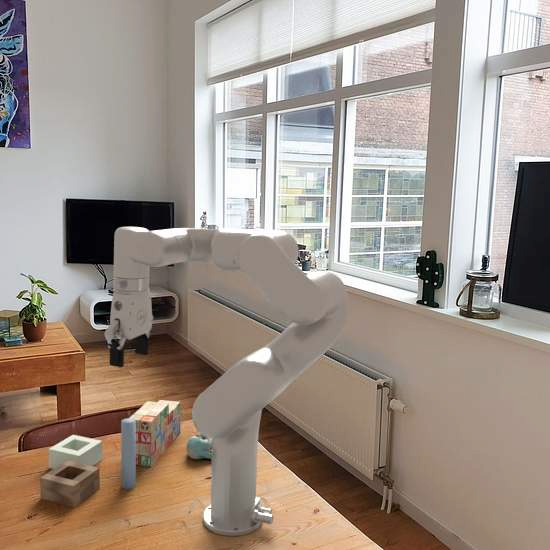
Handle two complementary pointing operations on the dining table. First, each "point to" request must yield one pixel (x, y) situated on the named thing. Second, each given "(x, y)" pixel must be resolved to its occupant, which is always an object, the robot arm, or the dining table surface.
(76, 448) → the white square hollow block
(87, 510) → the dining table surface
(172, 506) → the dining table surface
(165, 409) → the stack of blocks
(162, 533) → the dining table surface
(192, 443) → the teal cartoon creature figurine
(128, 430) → the light blue rod
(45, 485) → the brown wooden square ring
